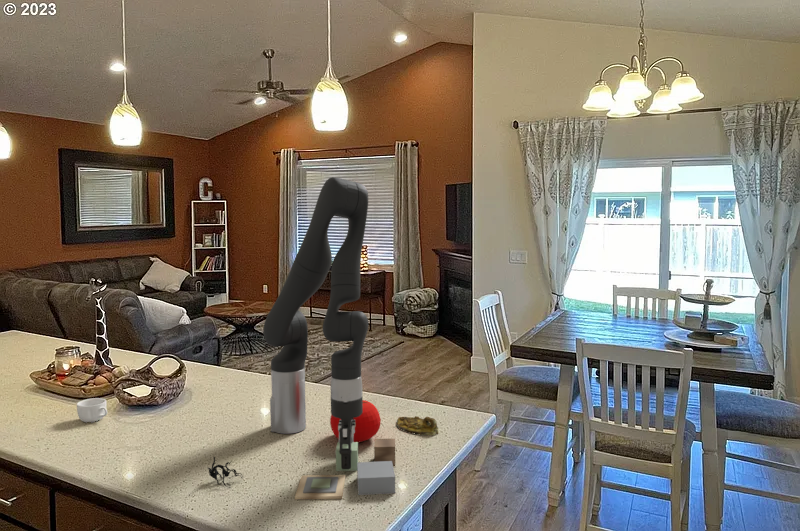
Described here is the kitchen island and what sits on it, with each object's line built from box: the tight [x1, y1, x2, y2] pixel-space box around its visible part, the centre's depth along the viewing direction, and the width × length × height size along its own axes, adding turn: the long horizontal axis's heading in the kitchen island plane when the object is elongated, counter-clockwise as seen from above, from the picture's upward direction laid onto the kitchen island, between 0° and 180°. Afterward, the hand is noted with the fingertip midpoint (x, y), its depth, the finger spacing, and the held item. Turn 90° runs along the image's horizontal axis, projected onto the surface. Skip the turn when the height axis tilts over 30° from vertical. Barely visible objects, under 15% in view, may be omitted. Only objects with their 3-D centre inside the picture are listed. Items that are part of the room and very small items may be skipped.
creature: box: [207, 456, 244, 489], centre depth 133 cm, size 8×5×8 cm
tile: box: [294, 474, 346, 500], centre depth 129 cm, size 10×10×1 cm
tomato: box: [329, 399, 382, 443], centre depth 157 cm, size 14×13×10 cm
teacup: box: [76, 397, 108, 423], centre depth 172 cm, size 10×8×5 cm
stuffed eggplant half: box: [396, 415, 440, 436], centre depth 165 cm, size 9×5×15 cm
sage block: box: [335, 441, 359, 472], centre depth 140 cm, size 5×5×5 cm
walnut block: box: [373, 438, 396, 467], centre depth 142 cm, size 5×5×5 cm
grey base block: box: [356, 461, 396, 496], centre depth 131 cm, size 8×8×4 cm
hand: (347, 460), depth 140 cm, fingers open, 8 cm apart
